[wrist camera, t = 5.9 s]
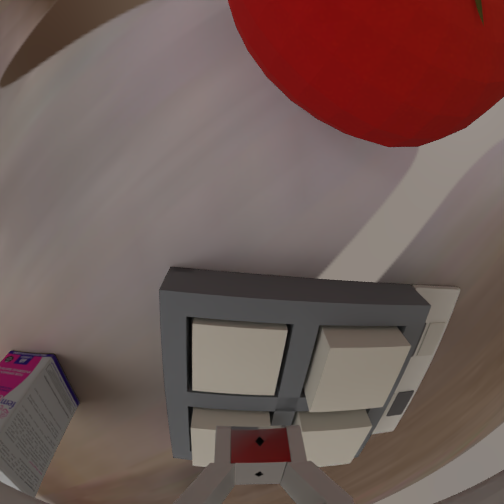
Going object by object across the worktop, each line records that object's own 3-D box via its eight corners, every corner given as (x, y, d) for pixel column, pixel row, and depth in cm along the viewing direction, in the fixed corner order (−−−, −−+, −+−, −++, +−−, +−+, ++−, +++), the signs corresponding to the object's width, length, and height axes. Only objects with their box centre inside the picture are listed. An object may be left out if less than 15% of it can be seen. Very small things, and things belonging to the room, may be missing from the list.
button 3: (194, 401, 19) (190, 427, 17) (268, 405, 19) (271, 432, 17) (195, 441, 21) (192, 465, 18) (259, 445, 21) (261, 469, 19)
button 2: (319, 322, 17) (330, 347, 15) (394, 323, 18) (411, 345, 15) (303, 385, 19) (309, 412, 17) (371, 383, 19) (382, 406, 17)
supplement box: (54, 350, 20) (-13, 456, 9) (81, 402, 22) (37, 505, 11) (8, 347, 20) (-58, 433, 9) (35, 396, 22) (-12, 482, 11)
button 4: (197, 301, 18) (192, 323, 16) (282, 307, 18) (287, 330, 16) (196, 365, 20) (192, 390, 18) (270, 370, 20) (274, 395, 18)
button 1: (297, 405, 20) (302, 431, 17) (362, 402, 20) (372, 426, 18) (284, 445, 21) (288, 468, 19) (343, 441, 22) (349, 463, 19)
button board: (170, 266, 18) (159, 289, 15) (456, 286, 20) (479, 305, 17) (177, 430, 23) (173, 457, 20) (391, 427, 25) (401, 449, 22)
